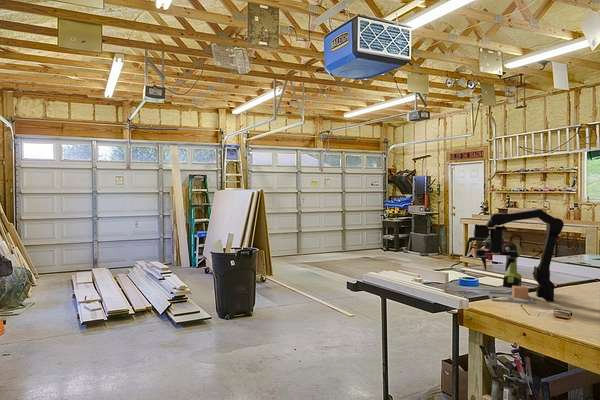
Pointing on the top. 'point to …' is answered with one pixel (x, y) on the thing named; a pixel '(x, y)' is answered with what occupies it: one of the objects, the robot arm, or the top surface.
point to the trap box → (509, 296)
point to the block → (520, 291)
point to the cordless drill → (512, 267)
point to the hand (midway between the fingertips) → (495, 270)
